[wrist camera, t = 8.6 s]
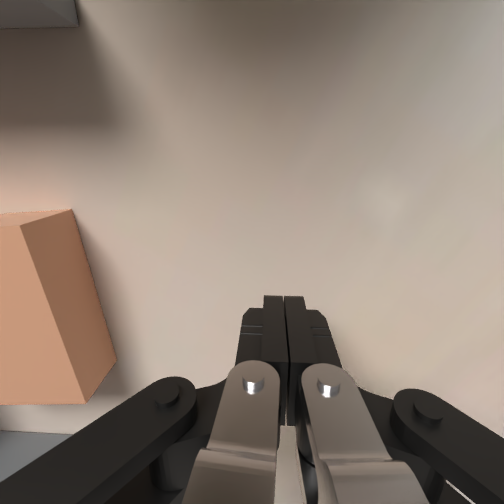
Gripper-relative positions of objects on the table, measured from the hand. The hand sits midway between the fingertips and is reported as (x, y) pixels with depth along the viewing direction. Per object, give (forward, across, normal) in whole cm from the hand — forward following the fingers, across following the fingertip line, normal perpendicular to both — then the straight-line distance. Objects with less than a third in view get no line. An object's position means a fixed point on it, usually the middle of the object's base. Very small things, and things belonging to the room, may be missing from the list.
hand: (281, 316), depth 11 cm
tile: (+2, +12, 0) cm, 12 cm away
